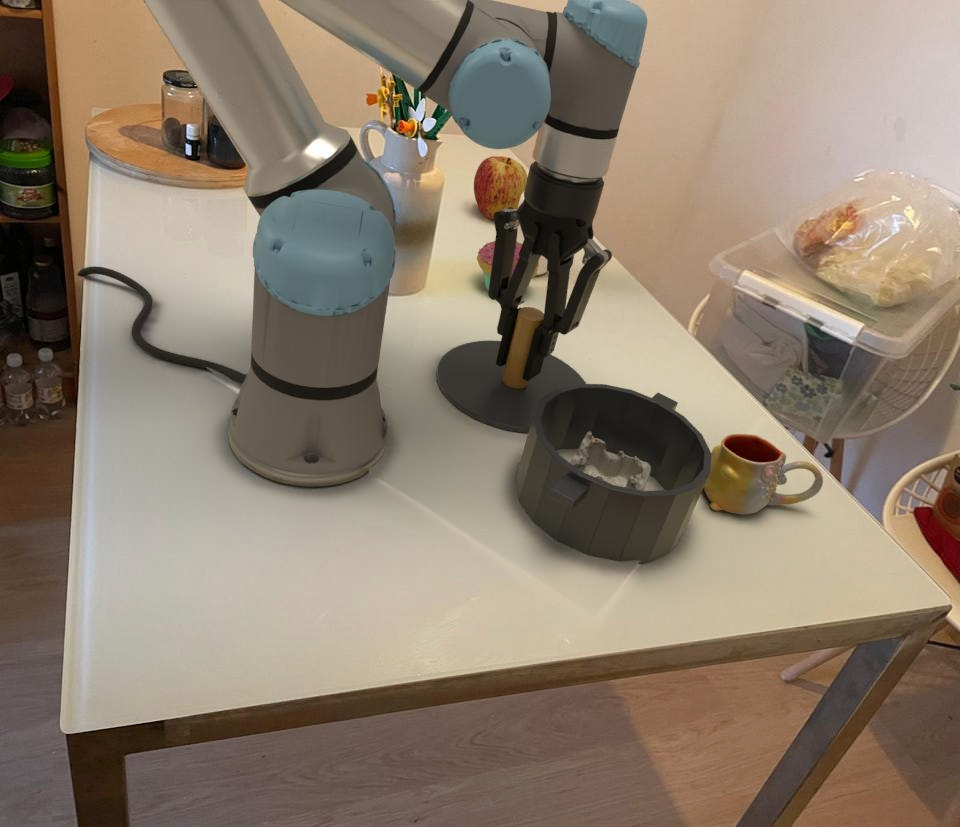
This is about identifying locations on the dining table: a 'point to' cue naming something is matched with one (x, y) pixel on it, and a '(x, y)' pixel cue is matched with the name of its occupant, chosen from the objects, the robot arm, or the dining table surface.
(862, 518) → the dining table surface
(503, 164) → the apple
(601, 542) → the pot
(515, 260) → the cupcake
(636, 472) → the egg carton
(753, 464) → the mug
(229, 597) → the dining table surface
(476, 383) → the lid
